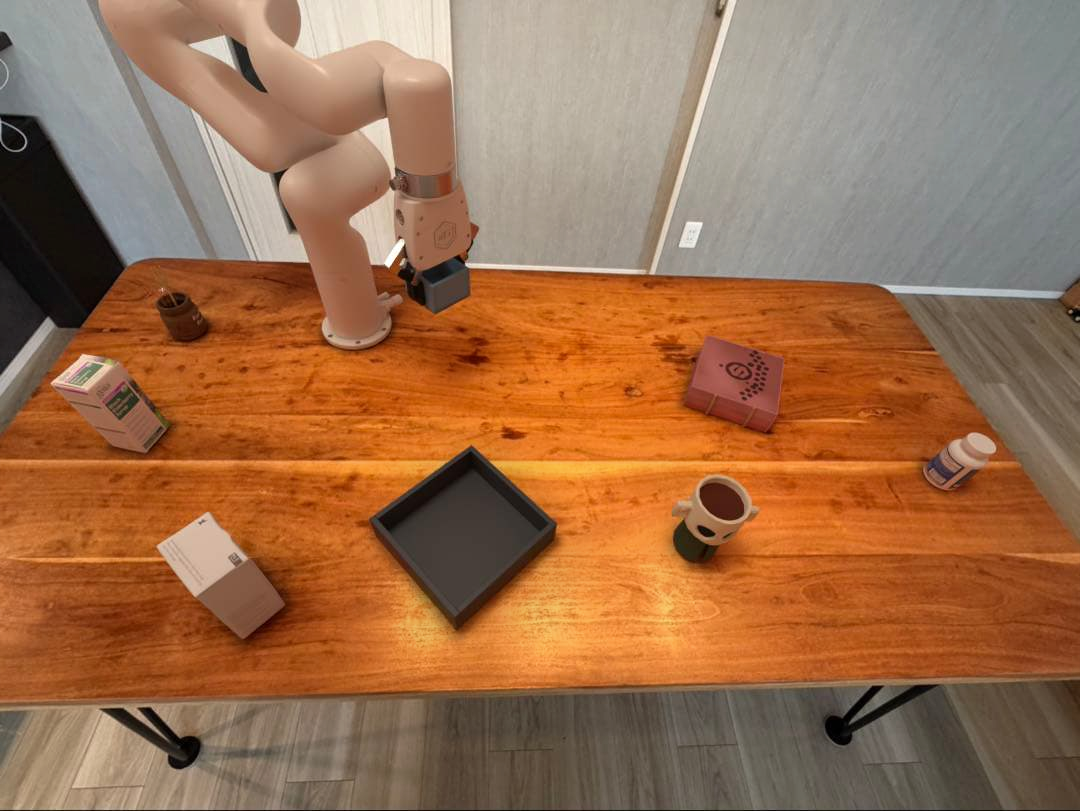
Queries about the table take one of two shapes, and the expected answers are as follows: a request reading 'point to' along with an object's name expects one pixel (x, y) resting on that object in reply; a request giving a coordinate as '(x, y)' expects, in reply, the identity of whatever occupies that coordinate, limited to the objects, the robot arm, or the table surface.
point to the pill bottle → (959, 461)
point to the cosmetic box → (221, 575)
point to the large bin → (463, 534)
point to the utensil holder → (179, 312)
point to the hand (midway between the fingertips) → (438, 289)
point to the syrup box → (112, 402)
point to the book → (736, 383)
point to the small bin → (445, 285)
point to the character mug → (711, 516)
